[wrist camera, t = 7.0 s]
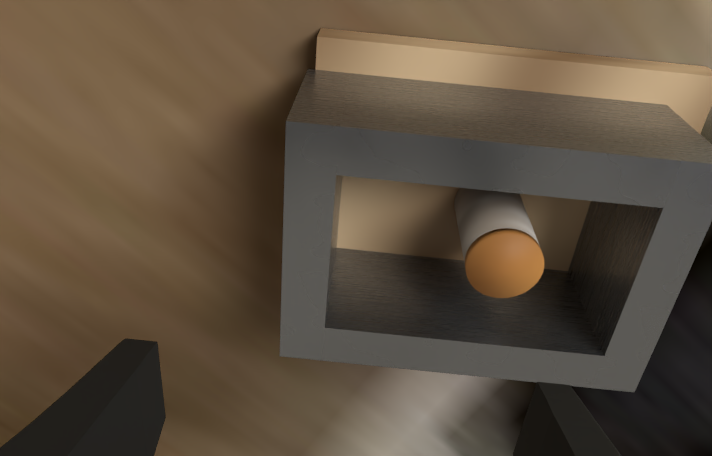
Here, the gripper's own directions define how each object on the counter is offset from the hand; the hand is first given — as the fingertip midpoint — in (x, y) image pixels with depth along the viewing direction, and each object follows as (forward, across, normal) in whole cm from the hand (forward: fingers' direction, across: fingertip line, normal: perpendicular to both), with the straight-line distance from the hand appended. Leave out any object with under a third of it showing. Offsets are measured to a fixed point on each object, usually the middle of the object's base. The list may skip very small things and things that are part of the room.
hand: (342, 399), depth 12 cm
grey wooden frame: (+8, -3, 0) cm, 9 cm away
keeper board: (+9, -4, 0) cm, 10 cm away
